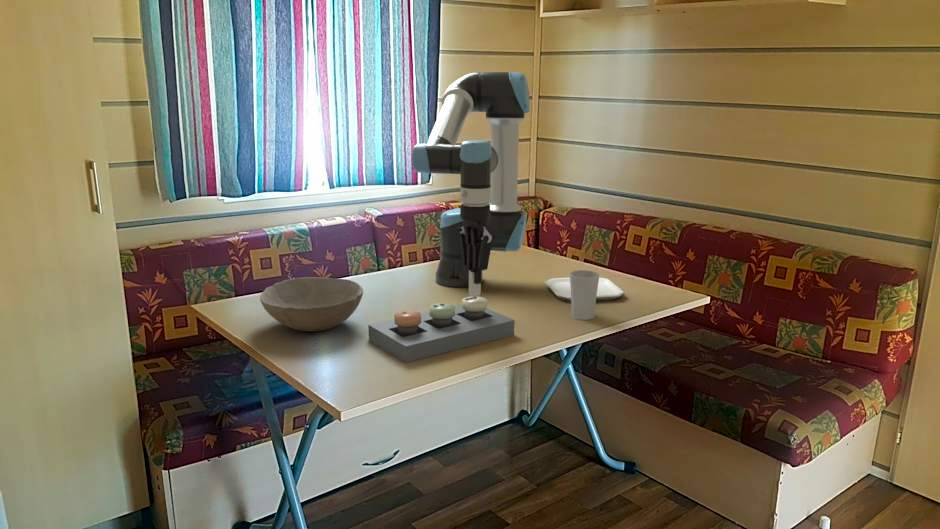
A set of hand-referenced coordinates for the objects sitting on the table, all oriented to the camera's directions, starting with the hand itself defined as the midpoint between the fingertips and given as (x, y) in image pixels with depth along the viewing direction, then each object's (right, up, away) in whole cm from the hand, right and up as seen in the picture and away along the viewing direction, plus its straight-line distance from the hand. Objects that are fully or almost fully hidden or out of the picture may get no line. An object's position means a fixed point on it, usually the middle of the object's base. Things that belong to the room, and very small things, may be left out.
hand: (474, 294), depth 186 cm
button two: (-8, -7, -4) cm, 12 cm away
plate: (+33, -1, +35) cm, 49 cm away
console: (-8, -11, -3) cm, 14 cm away
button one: (-16, -9, -10) cm, 21 cm away
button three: (0, -6, +2) cm, 6 cm away
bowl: (-42, -9, +4) cm, 43 cm away
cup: (+30, -7, +14) cm, 33 cm away
